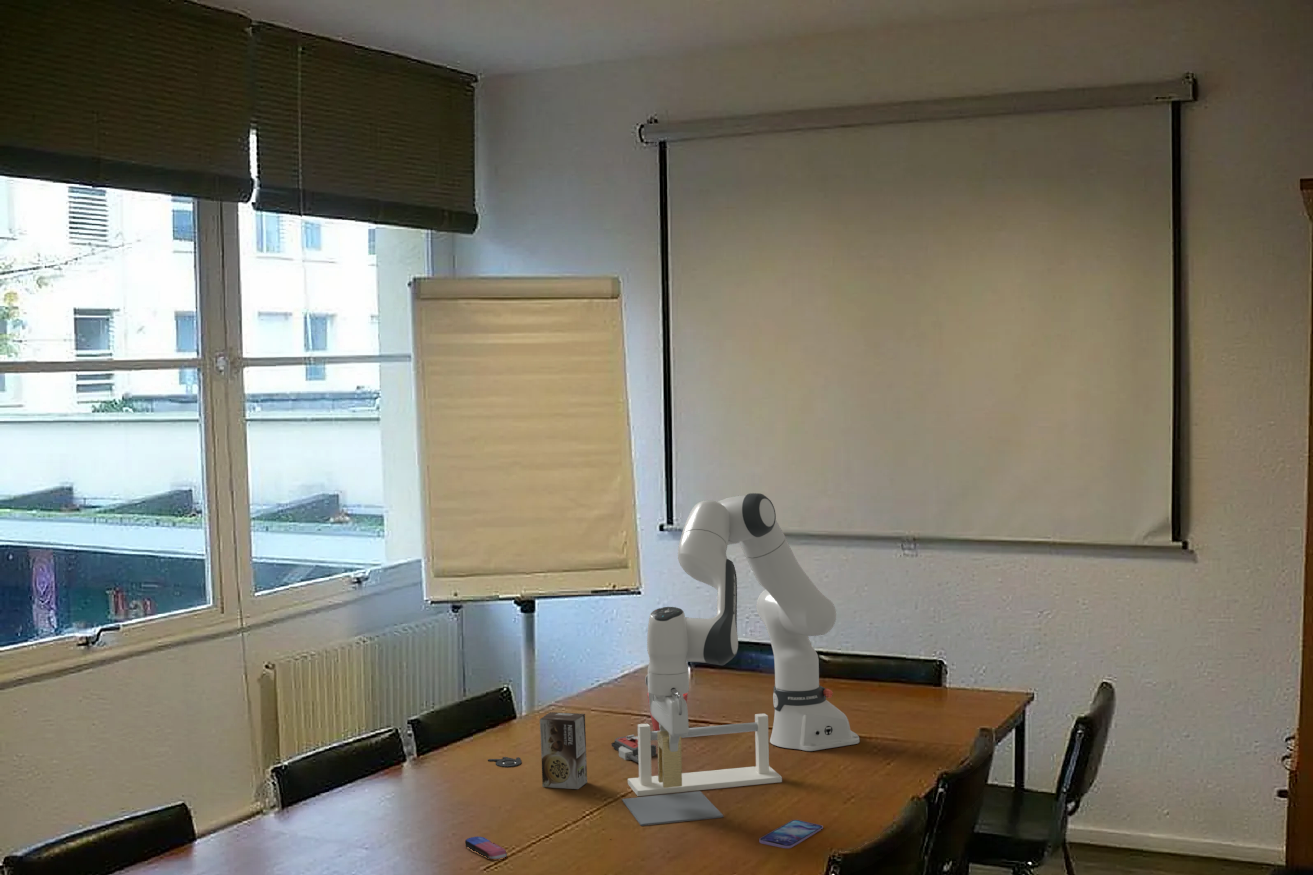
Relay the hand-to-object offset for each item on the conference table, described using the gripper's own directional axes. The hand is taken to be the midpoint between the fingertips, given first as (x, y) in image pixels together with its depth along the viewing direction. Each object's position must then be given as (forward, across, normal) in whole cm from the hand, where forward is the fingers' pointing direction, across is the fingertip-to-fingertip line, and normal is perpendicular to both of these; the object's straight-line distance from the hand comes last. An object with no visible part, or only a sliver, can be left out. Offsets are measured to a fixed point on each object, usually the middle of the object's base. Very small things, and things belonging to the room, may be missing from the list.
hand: (669, 747), depth 309 cm
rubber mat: (+14, 0, 0) cm, 14 cm away
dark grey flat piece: (+14, +50, +31) cm, 60 cm away
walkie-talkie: (+14, +43, -3) cm, 46 cm away
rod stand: (+14, +16, -12) cm, 24 cm away
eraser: (+14, -15, +42) cm, 47 cm away
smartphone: (+14, -24, -19) cm, 34 cm away
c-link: (+8, 0, 0) cm, 8 cm away
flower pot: (+14, +65, -16) cm, 68 cm away
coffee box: (+14, +25, +19) cm, 34 cm away
